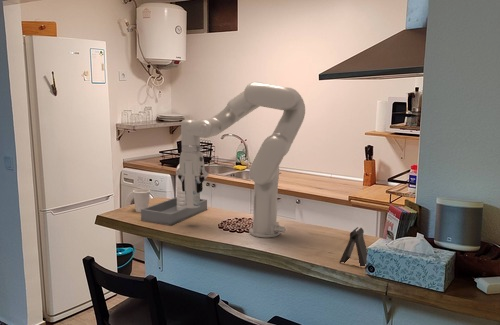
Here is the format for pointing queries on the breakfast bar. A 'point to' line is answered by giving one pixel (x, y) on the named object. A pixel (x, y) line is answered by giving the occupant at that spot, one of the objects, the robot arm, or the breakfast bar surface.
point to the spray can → (190, 186)
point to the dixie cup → (141, 198)
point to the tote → (170, 212)
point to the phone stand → (360, 244)
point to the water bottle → (180, 194)
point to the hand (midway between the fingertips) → (192, 191)
